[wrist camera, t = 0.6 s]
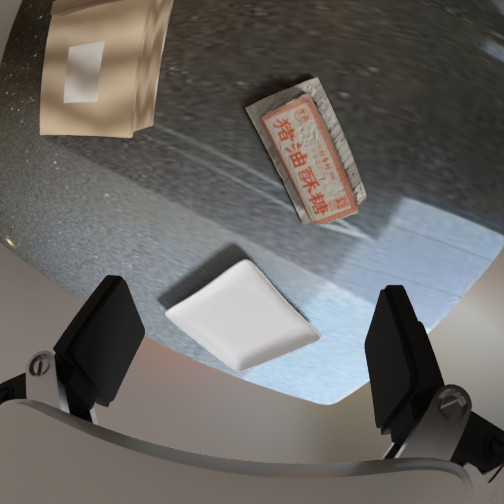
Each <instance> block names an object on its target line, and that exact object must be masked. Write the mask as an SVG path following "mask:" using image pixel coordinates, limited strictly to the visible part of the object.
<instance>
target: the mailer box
mask: <svg viewBox="0 0 504 504" xmlns="http://www.w3.org/2000/svg"><path fill="white" fill-rule="evenodd" d="M173 1H174V0H153V3H152V7H151V12H150V16H149V20H148V25H147V30H146V35H145V40H144V45H143V51H142V57H141V63H140V70H139V77H138V85H137V94H136V103H135V114H134V126H133V132H134V131H137V130H140V129H143V128H146V127H150V126H153V119H154V109H155V101H156V92H157V85H158V78H159V71H160V65H161V59H162V53H163V47H164V42H165V37H166V32H167V27H168V22H169V18H170V13H171V9H172V5H173Z"/></svg>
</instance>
